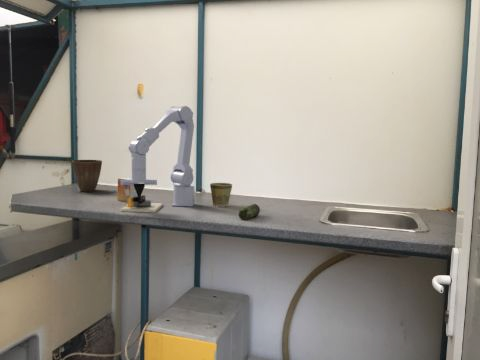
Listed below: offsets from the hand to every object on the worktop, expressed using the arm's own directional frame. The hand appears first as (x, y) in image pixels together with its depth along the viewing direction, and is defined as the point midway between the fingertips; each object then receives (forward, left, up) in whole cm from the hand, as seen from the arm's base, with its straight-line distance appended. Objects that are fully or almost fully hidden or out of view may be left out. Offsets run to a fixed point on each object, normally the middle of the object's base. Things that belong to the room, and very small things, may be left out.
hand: (139, 202), depth 168 cm
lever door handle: (+1, -3, -2) cm, 4 cm away
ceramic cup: (-33, -19, -4) cm, 38 cm away
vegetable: (-46, +6, -4) cm, 47 cm away
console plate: (0, -5, -3) cm, 6 cm away
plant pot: (+40, -48, -4) cm, 62 cm away
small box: (+11, -22, -4) cm, 24 cm away
